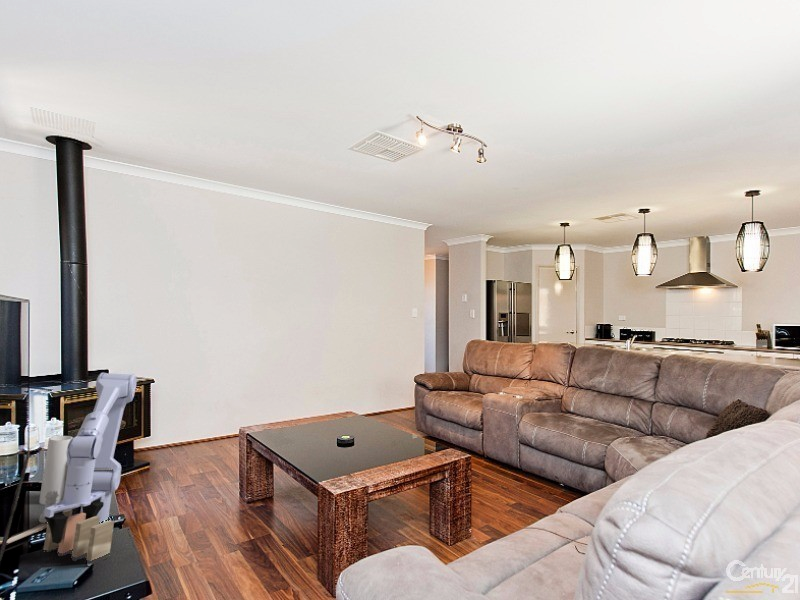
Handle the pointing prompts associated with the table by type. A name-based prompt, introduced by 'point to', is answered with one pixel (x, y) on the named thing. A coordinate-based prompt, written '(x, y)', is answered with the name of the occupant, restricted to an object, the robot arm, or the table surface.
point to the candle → (55, 468)
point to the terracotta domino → (70, 532)
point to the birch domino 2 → (83, 536)
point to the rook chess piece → (48, 503)
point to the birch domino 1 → (48, 538)
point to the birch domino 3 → (100, 540)
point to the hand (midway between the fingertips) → (71, 536)
